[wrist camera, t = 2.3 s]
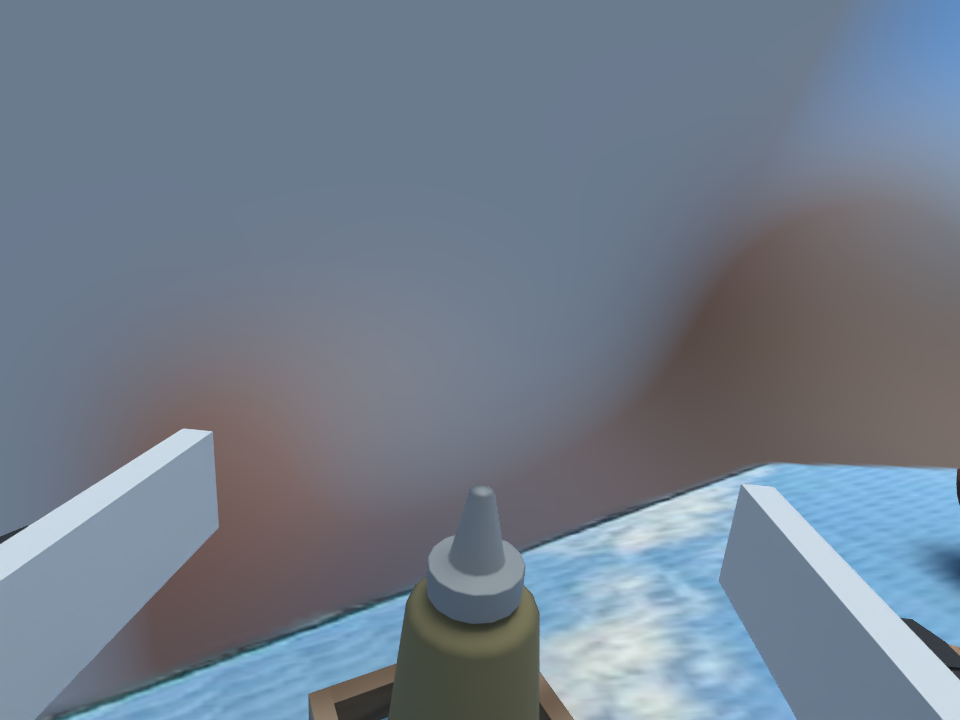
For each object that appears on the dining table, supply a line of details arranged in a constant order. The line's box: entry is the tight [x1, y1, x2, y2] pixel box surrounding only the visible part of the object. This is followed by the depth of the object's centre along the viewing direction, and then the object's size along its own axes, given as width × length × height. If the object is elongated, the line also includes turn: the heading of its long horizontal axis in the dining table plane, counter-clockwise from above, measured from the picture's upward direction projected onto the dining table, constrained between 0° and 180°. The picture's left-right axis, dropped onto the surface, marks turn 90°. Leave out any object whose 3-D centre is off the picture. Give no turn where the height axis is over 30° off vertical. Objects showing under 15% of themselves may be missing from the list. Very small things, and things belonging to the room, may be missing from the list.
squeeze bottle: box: [388, 485, 539, 720], centre depth 26 cm, size 8×8×18 cm
